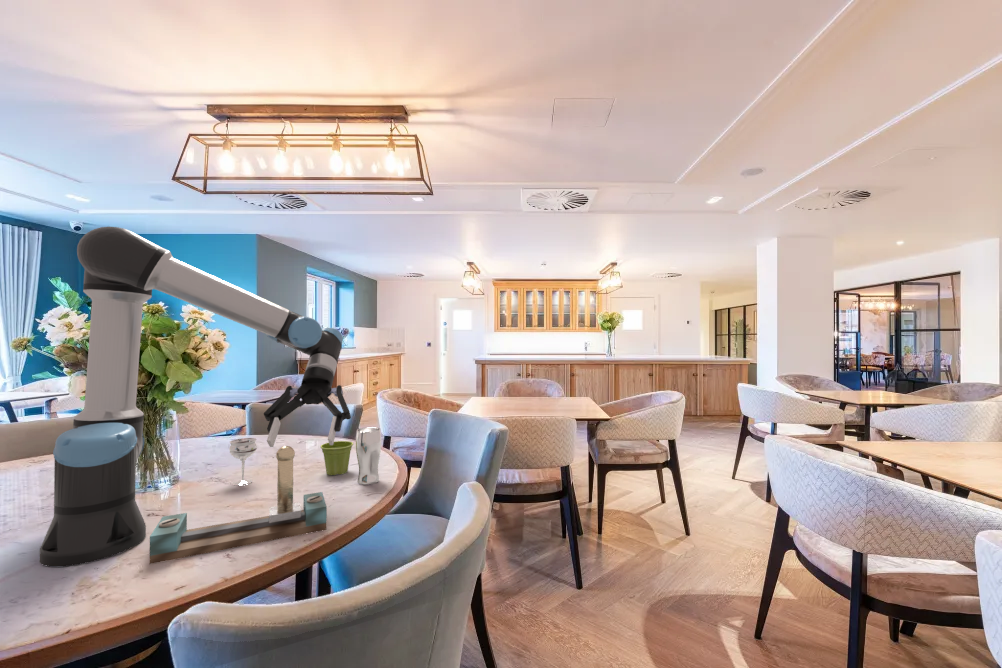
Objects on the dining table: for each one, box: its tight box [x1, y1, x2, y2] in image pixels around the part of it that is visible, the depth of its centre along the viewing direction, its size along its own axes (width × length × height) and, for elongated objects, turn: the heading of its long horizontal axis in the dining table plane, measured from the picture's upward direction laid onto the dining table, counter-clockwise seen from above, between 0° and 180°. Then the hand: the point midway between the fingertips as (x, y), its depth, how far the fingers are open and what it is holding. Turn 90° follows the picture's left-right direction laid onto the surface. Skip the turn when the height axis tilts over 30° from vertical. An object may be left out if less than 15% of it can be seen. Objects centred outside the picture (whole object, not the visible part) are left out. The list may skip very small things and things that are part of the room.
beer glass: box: [355, 426, 382, 486], centre depth 123 cm, size 7×7×15 cm
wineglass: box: [229, 437, 258, 486], centre depth 122 cm, size 7×7×12 cm
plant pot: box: [320, 440, 354, 476], centre depth 131 cm, size 9×9×9 cm
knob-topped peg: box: [268, 445, 302, 523], centre depth 92 cm, size 6×5×15 cm
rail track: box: [148, 491, 328, 565], centre depth 89 cm, size 30×10×6 cm, turn 118°
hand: (300, 443), depth 101 cm, fingers open, 13 cm apart
